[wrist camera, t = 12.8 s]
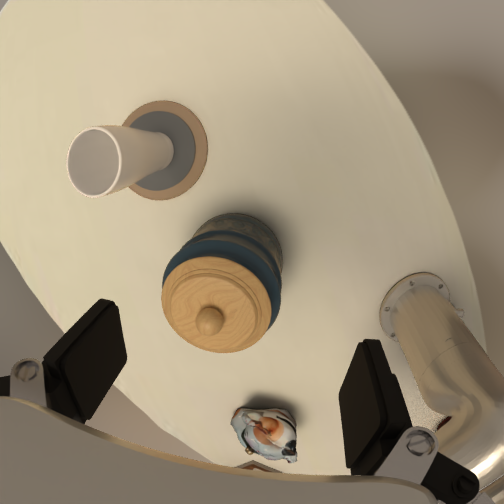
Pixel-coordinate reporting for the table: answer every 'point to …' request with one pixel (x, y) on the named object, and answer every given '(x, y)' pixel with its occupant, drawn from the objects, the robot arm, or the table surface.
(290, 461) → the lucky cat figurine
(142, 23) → the table surface
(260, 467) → the notched white tower
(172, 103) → the round coaster
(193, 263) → the canister
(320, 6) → the table surface
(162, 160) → the drinking glass
